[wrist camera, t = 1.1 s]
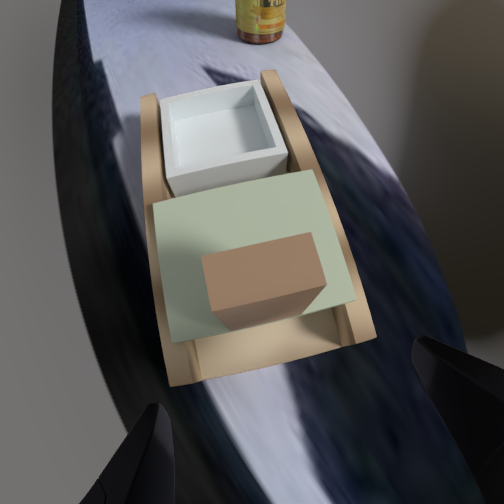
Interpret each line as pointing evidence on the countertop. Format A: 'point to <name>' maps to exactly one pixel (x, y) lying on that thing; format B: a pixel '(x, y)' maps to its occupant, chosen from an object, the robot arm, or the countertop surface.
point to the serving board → (269, 335)
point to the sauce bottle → (260, 20)
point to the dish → (220, 138)
